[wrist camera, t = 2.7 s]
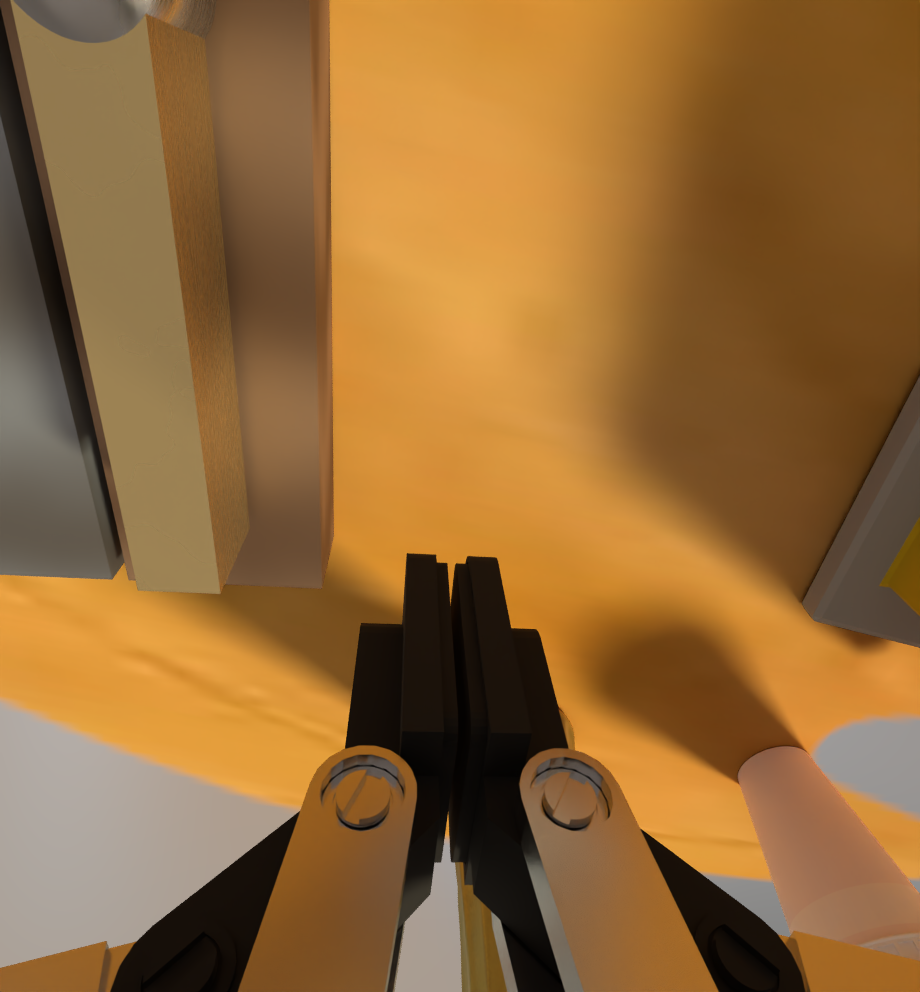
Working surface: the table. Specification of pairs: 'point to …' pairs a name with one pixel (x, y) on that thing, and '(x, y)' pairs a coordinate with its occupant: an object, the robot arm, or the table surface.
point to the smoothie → (827, 857)
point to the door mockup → (252, 301)
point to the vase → (483, 927)
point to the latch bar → (146, 267)
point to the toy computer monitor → (878, 545)
